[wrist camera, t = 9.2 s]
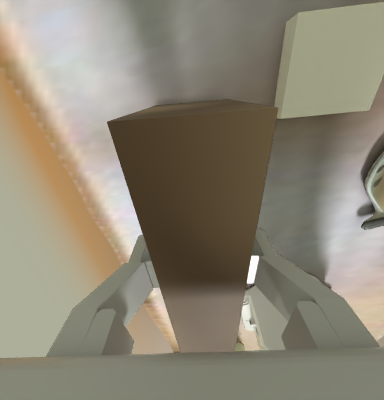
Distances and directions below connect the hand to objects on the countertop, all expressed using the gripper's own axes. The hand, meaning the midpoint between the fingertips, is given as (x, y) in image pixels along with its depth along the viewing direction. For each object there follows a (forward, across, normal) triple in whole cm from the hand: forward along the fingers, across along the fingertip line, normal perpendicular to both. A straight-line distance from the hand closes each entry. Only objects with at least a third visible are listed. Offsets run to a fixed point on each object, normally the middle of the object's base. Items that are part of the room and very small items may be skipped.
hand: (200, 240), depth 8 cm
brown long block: (+2, 0, 0) cm, 2 cm away
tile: (+12, -8, -7) cm, 17 cm away
